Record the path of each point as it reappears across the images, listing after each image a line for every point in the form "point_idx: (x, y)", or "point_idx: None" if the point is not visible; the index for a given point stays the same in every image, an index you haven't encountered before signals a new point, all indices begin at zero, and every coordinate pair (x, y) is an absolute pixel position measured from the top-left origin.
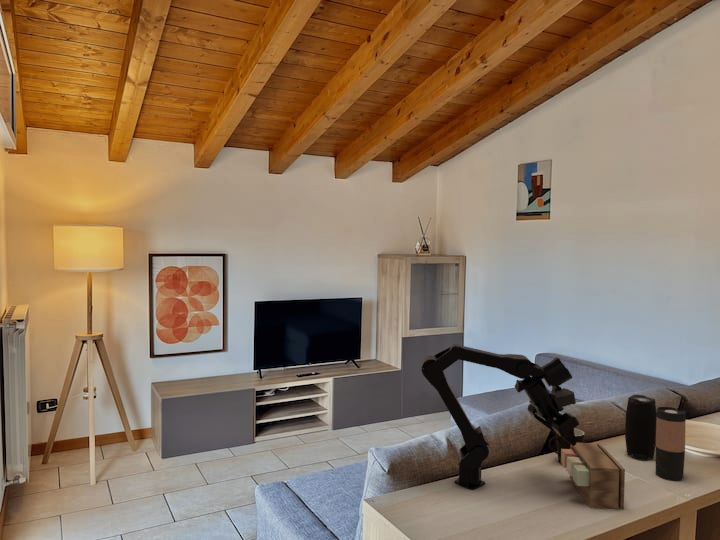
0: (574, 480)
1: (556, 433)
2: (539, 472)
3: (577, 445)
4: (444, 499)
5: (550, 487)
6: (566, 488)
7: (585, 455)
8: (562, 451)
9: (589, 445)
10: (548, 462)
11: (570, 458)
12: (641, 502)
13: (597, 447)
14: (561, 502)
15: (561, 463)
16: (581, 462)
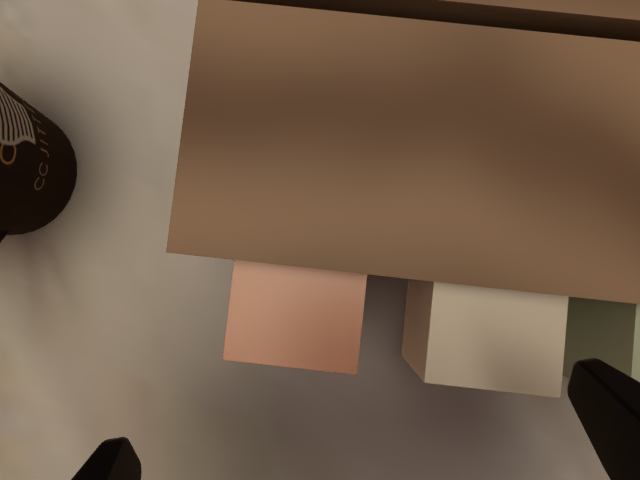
0: None
1: (139, 470)
2: (166, 414)
3: (269, 215)
4: None
5: (377, 423)
6: (388, 334)
7: (562, 251)
8: (270, 363)
9: (263, 83)
10: (10, 301)
11: (473, 367)
12: None
13: (323, 24)
14: (566, 431)
15: (36, 228)
16: (567, 302)
